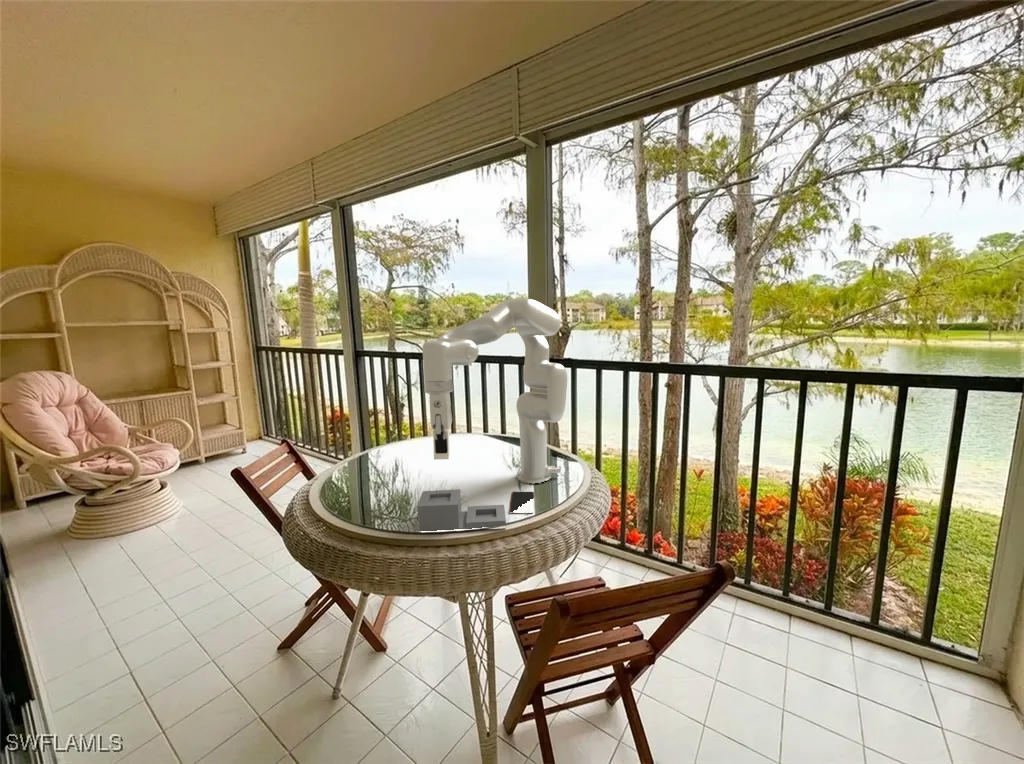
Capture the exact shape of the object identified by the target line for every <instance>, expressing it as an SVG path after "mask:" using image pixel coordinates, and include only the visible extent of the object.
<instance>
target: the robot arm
mask: <svg viewBox="0 0 1024 764" xmlns="http://www.w3.org/2000/svg"><path fill="white" fill-rule="evenodd" d="M513 328H515V331H516V332H517V334H518V335H519V337H520V338H521V339H522V342H523V343H524V344H523V345H524V348H525V351H524V353H525V355H524V365H523V383H524V385H525V386H527V387H528V388H532V389H537V390H545V391H547V393H543V392H536V391H527V392H523V393H521V394H520V395H519V396H518V398H517V401H516V412H517V417H518V421H519V442H520V445H519V447H520V470H519V471H518V472H516V479H517V480H518V481H519V482H521V483H524V484H529V483H532V484H531V485H536V484H535V483H539V484H542V483H541V482H544V481H547V480H549V479H550V478H551V479H552V473H553V474H560V473H561V468H560V466H559V467H556V465H548V457H547V456H548V453H547V452H548V451H547V450H548V449H547V447H548V446H547V443H548V441H547V440H548V439H547V436H548V433H547V428H546V425H545V424H546V423H544V422H548V423H558V422H560V421H561V420H562V419H563V417H564V414H565V409H566V403H567V401H566V400H567V389H568V373H567V369H566V367H565V366H564V365H562V364H561V363H558V362H550V345H549V343H548V341H547V338H546V337H552V336H554V335H556V334H557V333H558V332H559V331H560V329H561V319H560V316H559V314H558V313H557V312H556V311H555V310H554V309H552V308H551V307H549V306H547V305H545V304H543V303H542V302H540V301H537V300H535V299H532V298H513V299H512V298H510V299H506V300H504V301H502V302H501V303H499V304H498V305H496V306H495V307H493V308H492V309H490V310H489V311H487V312H486V313H485V314H484V315H481V316H480V317H477V318H475V319H472V320H470V321H468V322H466V323H465V322H464V323H462V324H460V325H458V326H455V327H454V328H452V329H449V330H448V331H446V332H445V333H444V334H442V335H441V336H439V337H438V338H437V339H436V340H431V341H430V340H429V341H426V342H424V343H423V345H422V359H423V360H422V362H423V363H422V365H423V380H424V382H423V383H424V393H426V394H429V395H428V396H429V400H428V402H429V417H430V426H431V429H432V430H433V431H434V429H435V451H436V453H437V454H438V453H447V439H446V433H445V428H447V429H449V430H450V428H451V426H452V423H453V415H452V403H451V393H452V392H453V391H454V388H453V372H452V371H453V370H452V369H453V366H469V365H471V364H473V363H474V362H475V361H476V360H477V358H478V357H479V348H478V346H481V345H485V344H490V343H494V342H496V341H497V340H499V339H500V338H502V337H503V336H504V335H505V334H507V332H509V331H511V329H513ZM441 426H443V428H441ZM441 431H443V432H441ZM551 479H550V480H551ZM550 480H549V481H550ZM547 482H548V481H547ZM544 483H545V482H544Z"/></svg>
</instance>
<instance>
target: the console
mask: <svg viewBox="0 0 1024 764" xmlns="http://www.w3.org/2000/svg"><path fill="white" fill-rule="evenodd" d="M461 500H462V499H461V489H440V490H423V491H422V493H421V495H420V498H419V502H418V504H417V519H418V532H419V531H437V530H454V529H472V528H482V527H494V526H500V525H506V526H507V519H506V509H505V508H506V507H505V504H491V505H489V504H488V505H487V504H486V505H471V506H469V505H468V506H467V509H466V511H465V510H464V511H462V504H461V503H462V502H461Z"/></svg>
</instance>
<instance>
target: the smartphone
mask: <svg viewBox="0 0 1024 764" xmlns="http://www.w3.org/2000/svg"><path fill="white" fill-rule="evenodd" d="M533 498H534V499H535V492H534V491H512V492H511V497H510V504H509V513H510V512H513V511H514V510H517V509H518V507H519V506H520V507H521V506H522V504H525V503H527V501H530V499H533Z"/></svg>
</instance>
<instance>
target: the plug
mask: <svg viewBox="0 0 1024 764" xmlns="http://www.w3.org/2000/svg"><path fill="white" fill-rule="evenodd" d="M441 428H443V426H441ZM432 432H433V433H432V434H433V437H432V438H433V460H449V459H450V454H451V453H450V428H449V429H447V428H445V433H446V439H447V453H438V454H437V453H436V451H435V429H434V430H433V431H432ZM441 432H443V431H441Z"/></svg>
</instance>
